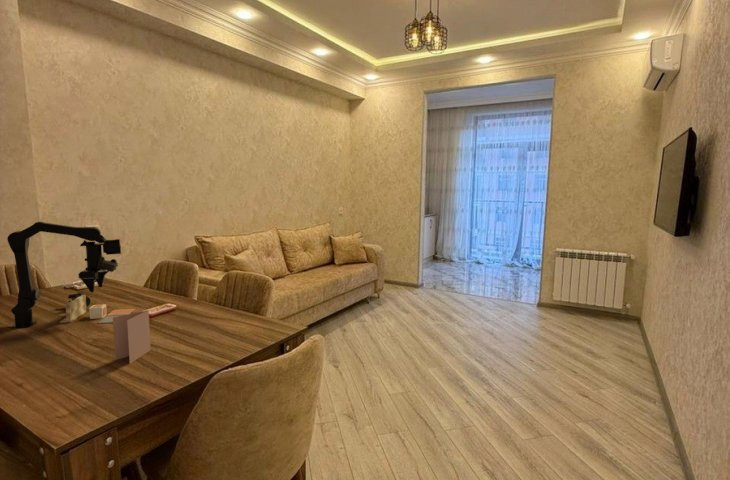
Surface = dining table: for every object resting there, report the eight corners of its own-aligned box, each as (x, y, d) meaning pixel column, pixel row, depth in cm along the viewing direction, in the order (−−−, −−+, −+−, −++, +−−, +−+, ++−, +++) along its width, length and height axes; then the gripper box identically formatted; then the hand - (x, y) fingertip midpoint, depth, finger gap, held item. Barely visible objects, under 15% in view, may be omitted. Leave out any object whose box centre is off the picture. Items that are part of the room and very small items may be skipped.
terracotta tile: (128, 315, 182) (128, 314, 182) (106, 316, 180) (106, 315, 180) (135, 309, 191) (134, 308, 191) (114, 310, 189) (113, 309, 189)
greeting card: (149, 349, 145) (147, 309, 143) (158, 354, 140) (156, 313, 138) (114, 359, 136) (111, 317, 134) (122, 365, 131) (120, 321, 129)
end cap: (91, 308, 192) (90, 294, 191) (73, 311, 187) (72, 297, 186) (86, 304, 198) (85, 290, 198) (68, 306, 193) (67, 293, 193)
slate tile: (121, 322, 172) (121, 321, 172) (97, 323, 170) (97, 322, 170) (128, 315, 181) (128, 315, 181) (105, 317, 179) (105, 316, 179)
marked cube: (102, 318, 178) (102, 307, 177) (89, 318, 177) (89, 307, 176) (107, 314, 183) (106, 303, 182) (94, 315, 181) (93, 304, 181)
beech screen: (70, 322, 171) (69, 304, 170) (59, 323, 170) (58, 304, 169) (86, 311, 187) (85, 294, 186) (76, 311, 186) (75, 295, 185)
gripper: (106, 258, 169) (108, 294, 171) (121, 251, 187) (123, 284, 189) (76, 259, 166) (79, 295, 168) (95, 252, 184) (97, 285, 186)
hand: (96, 289), depth 178 cm, fingers open, 9 cm apart
